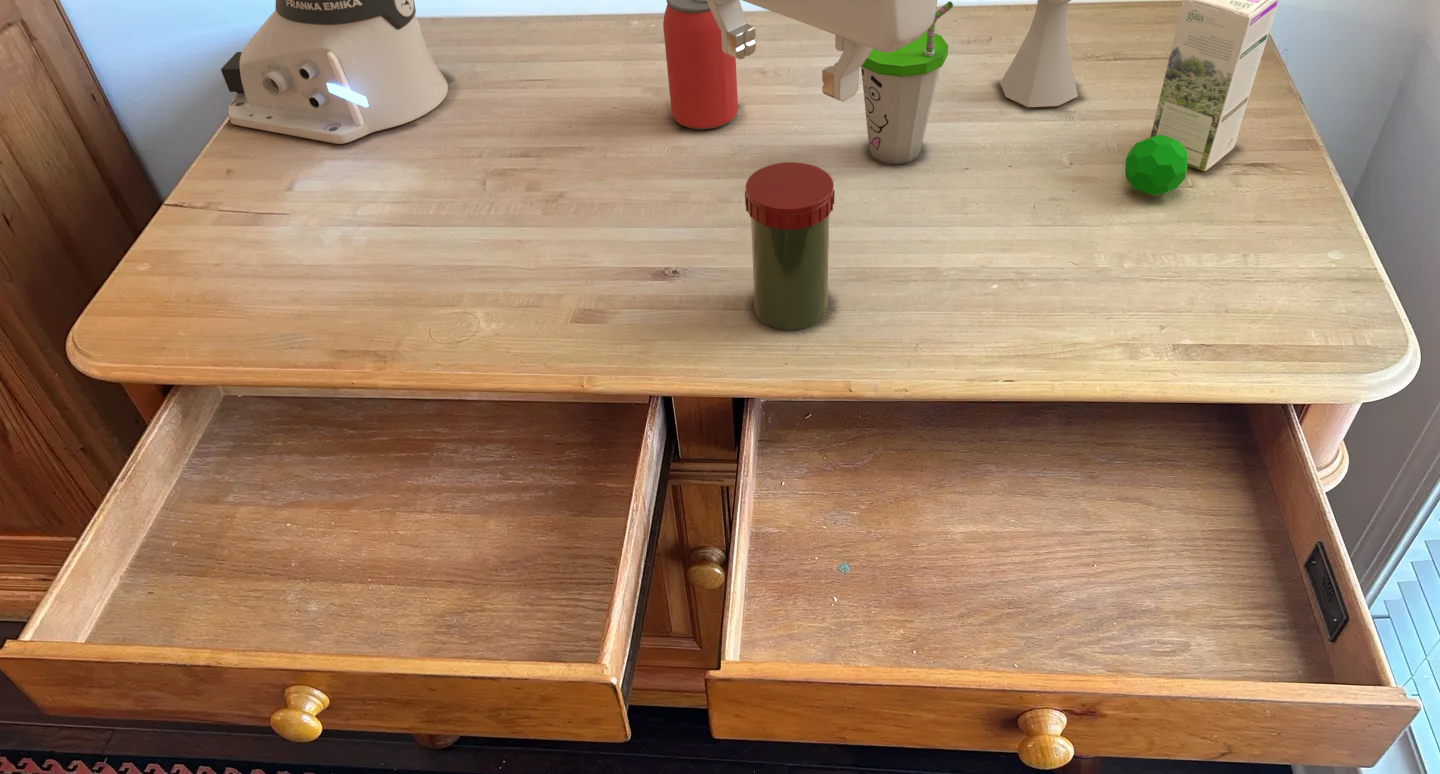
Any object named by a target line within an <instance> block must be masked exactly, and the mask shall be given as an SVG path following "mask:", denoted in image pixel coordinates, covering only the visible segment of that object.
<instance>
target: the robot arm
mask: <svg viewBox="0 0 1440 774" xmlns="http://www.w3.org/2000/svg"><path fill="white" fill-rule="evenodd" d="M706 1H707V3H708V5H709V7H710V10H711V12H712V14H713V16H714V18H715V20H716V22H717V24H718V27H719V29H721V38H722V51H723V52H724V53H725V54H728V55H730V56H733V57H735V58H736V59H738V60H743V59H745V58H746V57H748V56H749V57H750V56H751V55H754V53H755V51H756V49H757V43H756V40H755V38H756V27H755V26H754V25H751V24H749V23H748V21H747V19H746V15H745V13H744V10H743V7H742V4H741V1H743V2H745V3H748V4H751V5H752V6H753V5H754V6H756V7H759V8H762V9H763V10H764V9H765V10H767V11H770V12H772V13H775V14H778V15H781V16H783V17H786V18H789V19H792V20H795V21H797V22H800V23H801V24H802V23H803V24H806V25H808V26H811V27H814V28H816V29H819V30H822V31H824V32H827V33H829V34H833V35H834V36H835V47H834V48H835V49H836V50H837V51H839V52H842V54H841V56H839V57H840V58H839V59H838V61H837V62H835V63H834V64H833V65H831V66H828V67H826V68H824V69H822V72H821V73H822V74H821V80H822V82H823V85H822V86H821V91H822V94H824V95H826V96H828V97H830V98H832V99H835V100H837V101H840V102H842V103H843V102H845V101H848V100H849V99H851V98H853V97H854V96H855V95H857V93H858V91H859V83H860V82H859V80H860V69H861V66H862V65H863V63H864V62H865V60H866V59H867V57H868V56H869V54H870V53H871V51H872V49H876V50H878V51H881V52H884V53H890V52H893V51H896V50H898V49H900V48H902V47H904V46H906V45H908V44H910V43H911V42H913V41H915V40H917V39H918V38H920V37H921V36H922V35H923V34H924V33H925V32H926V31H927V30H928V29H929V28H930V26H931V25H932V23H933V21H934V19H935V14H936V12H937V6H938V0H706ZM274 8H275V10H274V11H273V12H272V13H271V14H270V16H269V17H268V18H267V19H266V20H265V22H263V24H262V25H261V26H260V27H259V29H258V30H257V31H256V32H255V33H254V34H253V36H252V37H251V38H249V40H248V42H247V43H246V44H245V45H244V48H243V50H242V51H236V52H235V53H234V54H233V55H232V57H230V58H229V59H228V61H227V62H226V63H225V64H224V65H223V66H222V67H221V68H220V71H221V74H222V77H223V79H224V82H225V84H226V86H227V89H228V92H229V93H236V95H235V96H234V97H233V99H232V100H231V101H230V103H229V105H228V110H227V113H228V114H227V115H228V118H229V122H230V124H231V125H235V126H240V127H244V128H250V129H254V130H255V129H256V130H261V131H266V132H270V133H271V132H272V133H275V134H276V133H277V134H281V135H288V136H293V137H299V138H303V139H309V140H314V141H320V142H324V143H325V142H326V143H331V144H335V145H337V144H338V145H343V144H347V143H350V142H354V141H356V140H358V139H360V138H363V137H366V136H367V135H369V134H372V133H375V132H378V131H383V130H387V129H391V128H396V127H398V126H401V125H405V124H407V123H410V122H413V121H415V120H418V119H419V118H421V117H423V116H425V115H426V114H429V113H430V112H432V111H433V110H434V109H436V108H437V107H438V106H439V105H440V104H441V103H442V102H443V101H444V100H445V99H446V97H447V95H448V91H449V83H448V81H447V80H446V78H445V76H444V75H443V73H442V72H441V70H440V68H439V66H438V64H437V63H436V62H437V61H435V58H434V57H433V54H432V51H431V49H430V48H429V45H428V42H427V40H426V38H425V36H424V33H423V31H422V28H421V25H420V23H419V20H418V17H417V14H416V11H417V9H416V4H415V0H275V7H274Z"/></svg>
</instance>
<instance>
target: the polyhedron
mask: <svg viewBox="0 0 1440 774" xmlns="http://www.w3.org/2000/svg"><path fill="white" fill-rule="evenodd" d="M1187 162H1188V155H1187V152H1186V150H1185V149H1184V147H1183V146H1182V144H1181V143H1180V142H1178V141H1177V140H1175V139H1173V138H1169V137H1166V136H1163V135H1156V136H1153V137H1150V136H1149V137H1148V138H1144V139H1143V140H1140V141H1137V142H1135V143H1134V145H1133V146H1131V148H1130V150H1129V151H1128V152H1127V155H1126V157H1125V165H1124V175H1125V179H1126V181H1127V182H1128V183H1129V185H1130V187H1131V188H1132V189H1133V190H1136V191H1138V192H1140V193H1143V194H1145V195H1147V196H1151V197H1156V196H1159V195H1162V194H1167V193H1169V192H1171V191H1174V190H1176V189H1178V187H1179V186H1180V185H1181V184H1182V182H1183V181H1184V180H1186V177H1187V173H1188V166H1187Z"/></svg>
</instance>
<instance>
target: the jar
mask: <svg viewBox="0 0 1440 774" xmlns="http://www.w3.org/2000/svg"><path fill="white" fill-rule="evenodd" d="M750 230H751V231H750V232H751V253H752V254H751V255H752V281H753V299H754V300H753V302H754V303H753V304H754V312H755V314H756V317H757V318H758V320H760V321H761V322H762V323H763V324H764V325H767V326H768V327H771V328H773V329H778V330H782V331H783V330H785V331H795V330H797V331H798V330H802V329H803V330H804V329H807V328H810V327H812V326H815V325H816V324H817V323H819V322H821V320H822V319H823V318H824V317H825V316H826V314H827V311H828V300H829V297H828V293H829V289H828V288H829V249H830V248H829V247H830V245H829V241H830V240H829V238H830V233H829V232H830V215H829V216H828V217H826V218H825V219H824V220H823V221H821V222H819V223H817V224H815V225H812V226H809V227H806V228H801V229H790V230H786V229H776V228H771V227H767V226H765V225H762V224H760V223H758V222H757V221H755V220H754V219H753V218H752V217H750Z"/></svg>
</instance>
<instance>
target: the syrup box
mask: <svg viewBox="0 0 1440 774" xmlns="http://www.w3.org/2000/svg"><path fill="white" fill-rule="evenodd" d="M1279 2H1280V0H1182V3H1181V7H1180V12H1179V16H1178V20H1177V25H1176V27H1175V33H1174V37H1173V41H1172V45H1171V50H1170V53H1169V57H1168V62H1167V66H1166V70H1165V74H1164V78H1163V82H1162V86H1161V90H1160V95H1159V98H1158V102H1157V107H1156V112H1155V115H1154V119H1153V123H1152V128H1151V132H1150V136H1149V138H1150V137H1153V136H1156V135H1163V136H1166V137H1169V138H1173V139H1175V140H1177V141H1178V142H1180V143H1181V144H1182V146H1183V147H1184V149H1185V150H1186V152H1187V155H1188V162H1187V167H1190V168H1193V169H1195V170H1199V171H1202V172H1207V171H1208V170H1209V169H1210V168H1212V167H1213V166H1214V165H1216V164H1217V163H1218V162H1219V161H1220V160H1222V159H1223V158H1224V157H1225V156H1226V155H1227V154H1228V153H1230V152H1231V151H1232V150H1233V149H1234V148H1235V146H1236V144H1237V141H1238V137H1239V133H1240V130H1241V126H1242V122H1243V119H1244V115H1245V111H1246V109H1247V105H1248V102H1249V99H1250V95H1251V92H1252V89H1253V86H1254V83H1255V80H1256V77H1257V76H1256V75H1257V73H1258V70H1259V67H1260V64H1261V60H1262V57H1263V54H1264V50H1265V48H1266V45H1267V41H1268V39H1269V35H1270V32H1271V30H1272V29H1271V28H1272V25H1273V23H1274V19H1275V16H1276V12H1277V9H1278V5H1279Z"/></svg>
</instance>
